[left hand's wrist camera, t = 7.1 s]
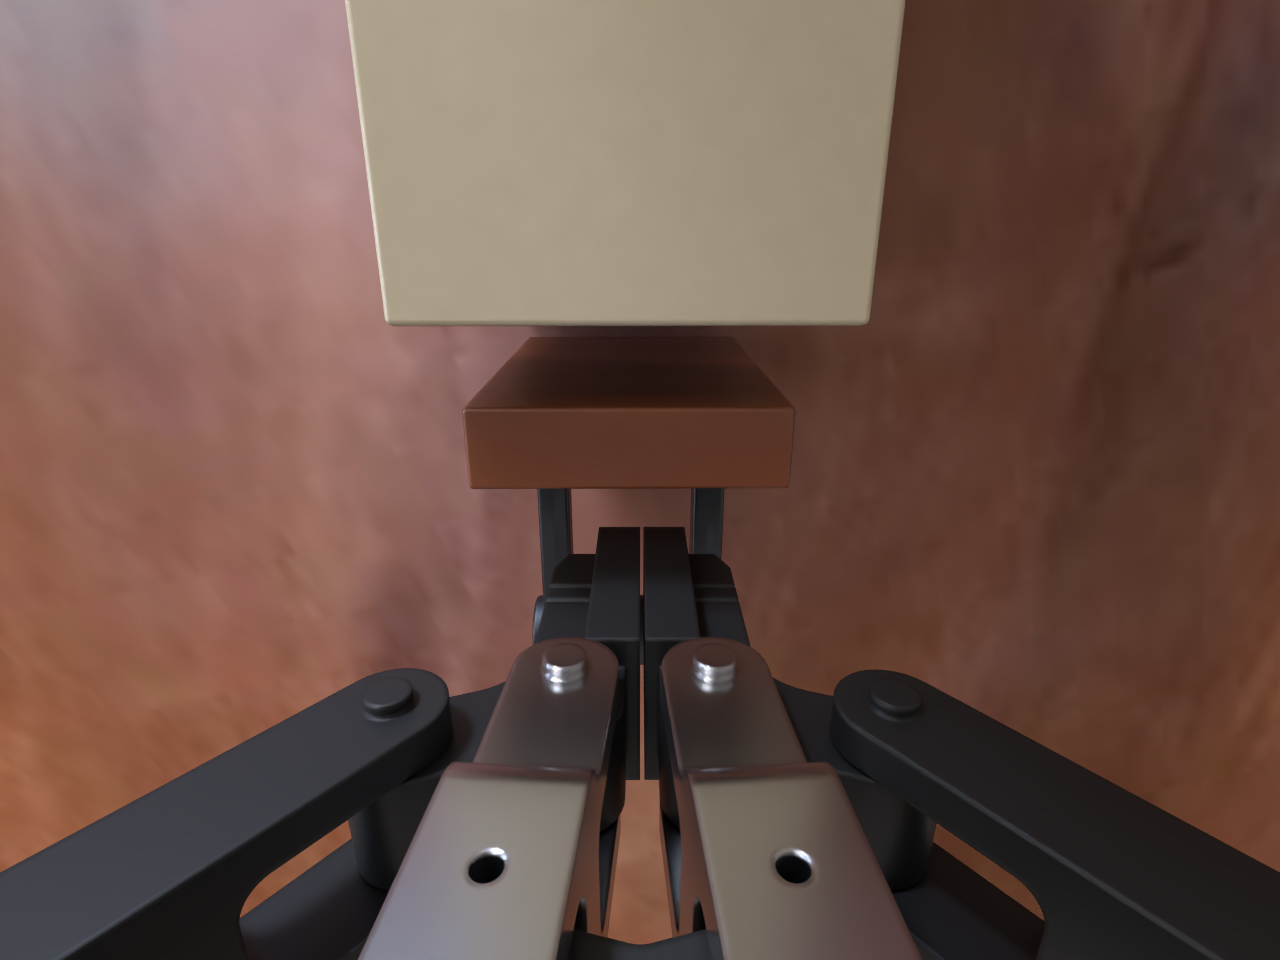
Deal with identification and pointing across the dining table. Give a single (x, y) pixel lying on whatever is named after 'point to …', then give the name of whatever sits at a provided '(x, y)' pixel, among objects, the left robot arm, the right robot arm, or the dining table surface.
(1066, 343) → the dining table surface
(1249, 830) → the dining table surface
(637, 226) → the cabinet
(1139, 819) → the left robot arm
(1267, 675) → the dining table surface
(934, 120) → the dining table surface
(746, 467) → the drawer
